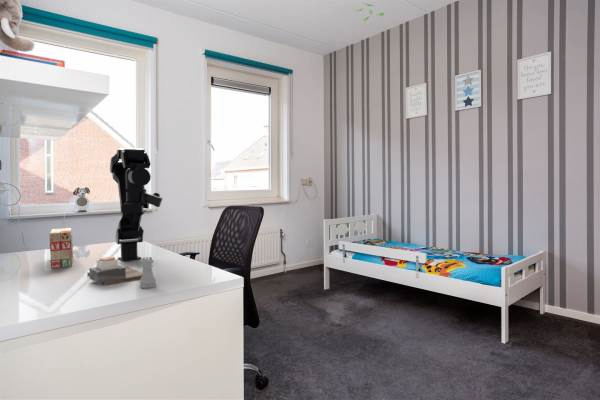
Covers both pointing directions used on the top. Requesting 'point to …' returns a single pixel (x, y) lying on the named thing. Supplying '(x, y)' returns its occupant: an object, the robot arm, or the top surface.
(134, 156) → the robot arm
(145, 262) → the rook chess piece
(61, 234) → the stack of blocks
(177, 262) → the top surface
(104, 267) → the key cap
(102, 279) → the key console
